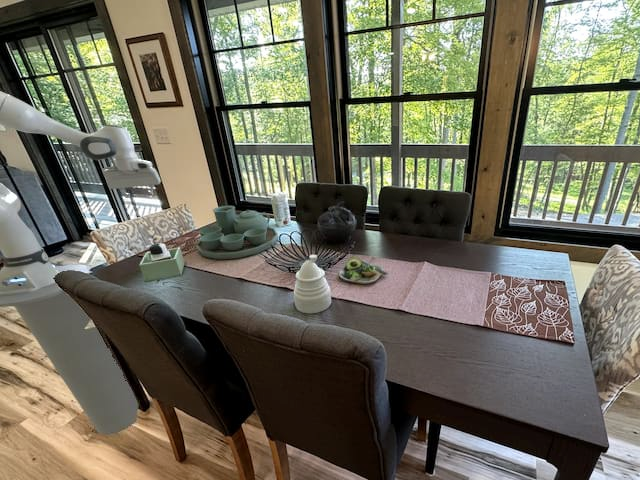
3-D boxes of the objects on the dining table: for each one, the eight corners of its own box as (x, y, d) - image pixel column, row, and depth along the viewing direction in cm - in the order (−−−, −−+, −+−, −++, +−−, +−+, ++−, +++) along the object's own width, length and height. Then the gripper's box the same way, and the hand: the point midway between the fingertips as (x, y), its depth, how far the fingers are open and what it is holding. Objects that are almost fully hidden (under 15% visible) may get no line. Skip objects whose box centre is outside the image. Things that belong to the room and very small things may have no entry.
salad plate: (393, 268, 133) (393, 259, 130) (379, 289, 118) (379, 278, 116) (352, 262, 140) (351, 253, 138) (334, 281, 125) (333, 271, 123)
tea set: (180, 256, 153) (170, 224, 146) (233, 228, 187) (227, 201, 179) (248, 264, 142) (240, 230, 134) (292, 233, 175) (287, 205, 168)
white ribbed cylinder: (292, 224, 189) (287, 193, 180) (278, 227, 185) (273, 195, 176) (287, 221, 195) (283, 191, 186) (274, 224, 191) (269, 193, 182)
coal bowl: (333, 250, 152) (330, 213, 143) (312, 239, 166) (308, 205, 157) (364, 239, 163) (363, 204, 154) (342, 230, 177) (340, 197, 168)
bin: (145, 281, 131) (138, 265, 128) (152, 268, 143) (146, 252, 139) (181, 275, 135) (175, 258, 132) (184, 262, 147) (179, 247, 143)
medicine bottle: (157, 275, 134) (147, 249, 129) (156, 269, 139) (146, 244, 134) (175, 270, 138) (166, 245, 132) (173, 264, 143) (165, 240, 137)
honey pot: (323, 290, 119) (318, 246, 111) (337, 306, 109) (333, 260, 101) (290, 299, 114) (283, 255, 106) (302, 317, 104) (295, 269, 96)
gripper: (98, 168, 132) (111, 200, 138) (152, 163, 138) (163, 195, 144) (103, 166, 137) (115, 197, 143) (155, 162, 143) (165, 192, 149)
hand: (139, 196), depth 144 cm, fingers open, 8 cm apart
